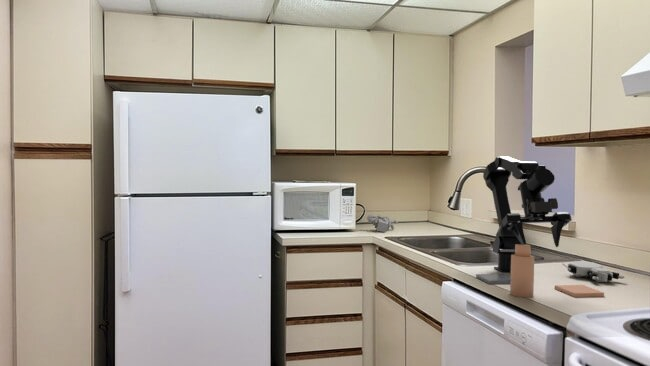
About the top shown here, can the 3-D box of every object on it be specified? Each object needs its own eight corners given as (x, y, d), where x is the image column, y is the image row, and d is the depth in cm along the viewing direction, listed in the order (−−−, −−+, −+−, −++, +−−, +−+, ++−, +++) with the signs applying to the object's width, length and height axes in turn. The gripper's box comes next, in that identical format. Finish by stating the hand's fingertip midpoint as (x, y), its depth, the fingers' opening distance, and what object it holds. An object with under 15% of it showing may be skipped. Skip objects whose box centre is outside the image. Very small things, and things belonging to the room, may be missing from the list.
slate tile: (476, 277, 152) (476, 274, 152) (502, 276, 153) (502, 273, 153) (489, 283, 143) (489, 280, 143) (516, 283, 144) (516, 280, 144)
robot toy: (627, 286, 146) (590, 272, 160) (628, 272, 145) (591, 259, 160) (593, 288, 143) (559, 273, 158) (594, 273, 143) (560, 260, 157)
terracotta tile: (554, 288, 138) (554, 285, 138) (582, 288, 139) (582, 284, 139) (574, 296, 129) (574, 293, 129) (604, 296, 130) (604, 292, 130)
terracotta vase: (506, 292, 133) (507, 243, 133) (525, 291, 134) (527, 243, 134) (517, 297, 127) (518, 246, 127) (537, 297, 128) (539, 246, 128)
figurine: (396, 240, 267) (368, 237, 260) (390, 223, 275) (363, 220, 269) (404, 228, 260) (376, 225, 253) (398, 212, 269) (370, 208, 262)
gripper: (508, 189, 138) (517, 240, 131) (573, 187, 136) (585, 238, 130) (498, 203, 148) (506, 250, 142) (559, 201, 147) (569, 249, 140)
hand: (541, 247), depth 138 cm, fingers open, 9 cm apart
